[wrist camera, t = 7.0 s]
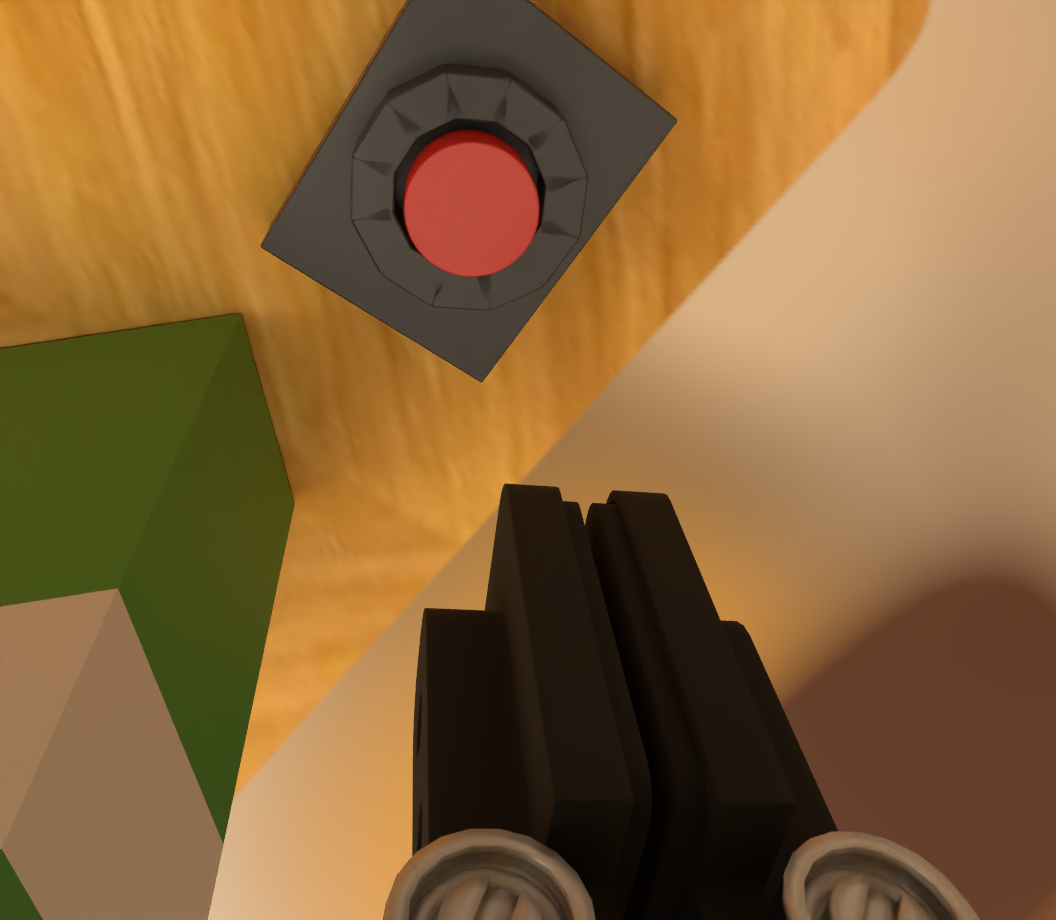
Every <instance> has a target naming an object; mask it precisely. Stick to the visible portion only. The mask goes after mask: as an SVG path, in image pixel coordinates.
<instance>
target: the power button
mask: <svg viewBox="0 0 1056 920" xmlns="http://www.w3.org/2000/svg"><path fill="white" fill-rule="evenodd" d="M539 210H540V207H539V198H538V193H537V189H536V187H535V184H534V181H533V179H532V177H531V175H530V172H529V170H528V168H527V166H526V164H525V162H524V160H523V159H522V157H521V156H520V155H519V153H518V152H517V151H516V150H515V149H514V148H513V147H512V146H511V145H510V144H509V143H507V142H506V141H504V140H503V139H501V138H500V137H498V136H496V135H493V134H491V133H488V132H485V131H480V130H470V129H465V130H456V131H453V132H449V133H446V134H444V135H441V136H439V137H438V138H436V139H434V140H432V141H431V142H430V143H429V144H427V145H426V146H425V147H424V148H423V149H422V150H421V151H420V152H419V154H418V155H417V156H416V158H415V159H414V161H413V163H412V165H411V166H410V169H409V172H408V174H407V178H406V182H405V192H404V218H405V224H406V227H407V231H408V234H409V236H410V238H411V240H412V242H413V244H414V245H415V247H416V248H417V250H418V251H419V252H420V253H421V255H422V256H423V257H424V258H425V259H426V260H427V261H429V262H430V263H431V264H433V265H434V266H436V267H437V268H439V269H441V270H443V271H445V272H448V273H450V274H454V275H458V276H465V277H479V276H486V275H490V274H493V273H496V272H498V271H501V270H503V269H504V268H506V267H508V266H509V265H511V264H512V263H514V262H515V261H516V260H517V259H518V258H519V257H520V256H521V255H522V254H523V253H524V252H525V250H526V249H527V248H528V246H529V245H530V243H531V241H532V239H533V237H534V235H535V232H536V229H537V226H538V221H539Z"/></svg>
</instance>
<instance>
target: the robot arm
mask: <svg viewBox="0 0 1056 920" xmlns="http://www.w3.org/2000/svg"><path fill="white" fill-rule="evenodd" d="M489 577H490V578H489V584H488V591H487V598H486V606H485V611H481V610H458V609H433V608H425V609H424V613H423V619H422V627H421V636H420V646H419V656H418V668H417V679H416V693H415V709H414V732H413V845H412V850H413V851H412V852H413V853H412V854H413V855H412V858H411V859H410V860H409V861H408V862H407V863H406V865H405V866H404V867H403V868H402V869H401V871H400V872H399V873H398V874H397V876H396V879H395V881H394V884H393V886H392V889H391V891H390V894H389V897H388V899H387V902H386V906H385V911H384V916H383V920H980V919H979V918H978V916H977V915H976V913H975V912H974V911H973V909H972V908H971V906H970V905H969V903H968V902H967V901H966V899H965V898H964V897H963V896H962V895H961V894H960V892H958V890H957V889H956V888H955V887H954V886H953V884H952V883H951V882H950V881H949V880H948V879H947V878H946V876H945V875H944V874H942V873H941V872H940V871H938V870H937V869H936V868H935V867H933V866H932V865H931V864H929V863H928V862H927V861H925V860H924V859H923V858H922V857H920V856H919V855H918V854H916V853H913V852H912V851H910V850H908V849H906V848H904V847H902V846H900V845H898V844H896V843H894V842H892V841H890V840H888V839H884V838H880V837H876V836H873V835H869V834H865V833H861V832H838V830H837V828H836V826H835V823H834V821H833V819H832V817H831V815H830V812H829V810H828V808H827V806H826V804H825V801H824V799H823V797H822V794H821V792H820V790H819V788H818V786H817V783H816V781H815V779H814V777H813V774H812V772H811V770H810V768H809V766H808V764H807V761H806V759H805V757H804V755H803V752H802V750H801V748H800V746H799V743H798V741H797V739H796V737H795V735H794V732H793V730H792V728H791V726H790V724H789V721H788V719H787V717H786V715H785V712H784V710H783V708H782V706H781V703H780V701H779V699H778V697H777V695H776V692H775V690H774V688H773V686H772V683H771V681H770V679H769V677H768V675H767V672H766V670H765V668H764V666H763V663H762V661H761V659H760V657H759V655H758V652H757V650H756V648H755V646H754V643H753V641H752V639H751V637H750V635H749V633H748V632H747V630H746V629H745V627H744V626H743V625H742V624H740V623H738V622H737V621H720V618H719V616H718V613H717V611H716V609H715V606H714V604H713V601H712V599H711V597H710V594H709V592H708V590H707V587H706V585H705V582H704V580H703V578H702V575H701V573H700V570H699V568H698V566H697V564H696V561H695V558H694V556H693V554H692V551H691V549H690V546H689V544H688V542H687V539H686V537H685V535H684V532H683V530H682V528H681V525H680V523H679V520H678V518H677V516H676V513H675V511H674V509H673V506H672V504H671V501H670V499H669V498H668V496H667V495H666V494H663V493H647V492H631V491H615V490H613V491H612V492H611V493H610V495H609V497H608V499H607V503H606V504H601V503H592V504H591V506H590V508H589V510H588V514H587V519H586V524H585V525H584V521H583V517H582V514H581V510H580V506H579V504H578V503H577V502H568V501H562V497H561V493H560V490H559V488H558V487H550V486H535V485H519V484H504V486H503V489H502V493H501V498H500V505H499V512H498V519H497V526H496V533H495V541H494V548H493V555H492V562H491V569H490V576H489Z"/></svg>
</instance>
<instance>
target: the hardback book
mask: <svg viewBox="0 0 1056 920" xmlns="http://www.w3.org/2000/svg"><path fill="white" fill-rule="evenodd" d="M293 508H294V500H293V496H292V493H291V489H290V485H289V482H288V478H287V475H286V471H285V468H284V464H283V461H282V457H281V454H280V450H279V447H278V443H277V439H276V436H275V432H274V429H273V425H272V422H271V418H270V415H269V411H268V408H267V404H266V401H265V397H264V393H263V390H262V386H261V383H260V379H259V376H258V372H257V369H256V365H255V362H254V358H253V355H252V351H251V347H250V344H249V340H248V337H247V333H246V330H245V326H244V323H243V319H242V316H241V313H239V314H233V315H226V316H219V317H212V318H206V319H199V320H192V321H185V322H179V323H172V324H165V325H158V326H152V327H145V328H138V329H131V330H125V331H118V332H111V333H104V334H98V335H91V336H84V337H77V338H71V339H64V340H57V341H50V342H44V343H37V344H30V345H23V346H17V347H10V348H3V349H0V920H208V915H209V910H210V905H211V901H212V896H213V891H214V886H215V882H216V877H217V872H218V867H219V862H220V858H221V853H222V848H223V843H224V839H225V834H226V829H227V824H228V819H229V815H230V810H231V805H232V800H233V796H234V791H235V786H236V781H237V776H238V772H239V767H240V762H241V757H242V752H243V748H244V743H245V738H246V733H247V729H248V724H249V719H250V714H251V709H252V705H253V700H254V695H255V690H256V685H257V681H258V676H259V671H260V666H261V661H262V657H263V652H264V647H265V642H266V638H267V633H268V628H269V623H270V618H271V614H272V609H273V604H274V599H275V594H276V590H277V585H278V580H279V575H280V571H281V566H282V561H283V556H284V551H285V547H286V542H287V537H288V532H289V527H290V523H291V518H292V513H293Z"/></svg>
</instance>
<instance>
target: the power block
mask: <svg viewBox="0 0 1056 920" xmlns="http://www.w3.org/2000/svg"><path fill="white" fill-rule="evenodd" d="M676 122H677V119H676V118H675V117H673V116H672V115H671V114H670V113H669V112H667V111H666V110H665V109H664V108H662V107H661V106H660V105H659V104H657V103H656V102H655V101H654V100H652V99H651V98H650V97H649V96H647V95H646V94H645V93H644V92H642V91H641V90H640V89H639V88H637V87H636V86H635V85H634V84H632V83H631V82H630V81H629V80H627V79H626V78H625V77H624V76H622V75H621V74H620V73H619V72H617V71H616V70H615V69H614V68H612V67H611V66H610V65H609V64H607V63H606V62H605V61H604V60H602V59H601V58H600V57H599V56H597V55H596V54H595V53H594V52H592V51H591V50H590V49H589V48H588V47H586V46H585V45H584V44H583V43H581V42H580V41H579V40H578V39H576V38H575V37H574V36H573V35H571V34H570V33H569V32H568V31H566V30H565V29H564V28H563V27H561V26H560V25H559V24H558V23H556V22H555V21H554V20H553V19H551V18H550V17H549V16H548V15H546V14H545V13H544V12H543V11H541V10H540V9H539V8H538V7H536V6H535V5H534V4H533V3H531V2H530V1H529V0H406V2H405V3H404V5H403V7H402V8H401V10H400V12H399V13H398V15H397V17H396V18H395V20H394V22H393V23H392V25H391V27H390V28H389V30H388V32H387V33H386V35H385V36H384V38H383V40H382V41H381V43H380V45H379V46H378V48H377V50H376V51H375V53H374V55H373V56H372V58H371V60H370V61H369V63H368V65H367V66H366V68H365V70H364V71H363V73H362V74H361V76H360V78H359V79H358V81H357V83H356V84H355V86H354V88H353V89H352V91H351V93H350V94H349V96H348V98H347V99H346V101H345V103H344V104H343V106H342V108H341V109H340V111H339V112H338V114H337V116H336V117H335V119H334V121H333V122H332V124H331V126H330V127H329V129H328V131H327V132H326V134H325V136H324V137H323V139H322V141H321V142H320V144H319V146H318V147H317V149H316V150H315V152H314V154H313V155H312V157H311V159H310V160H309V162H308V164H307V165H306V167H305V169H304V170H303V172H302V174H301V175H300V177H299V179H298V180H297V182H296V184H295V185H294V187H293V188H292V190H291V192H290V193H289V195H288V197H287V198H286V200H285V202H284V203H283V205H282V207H281V208H280V210H279V212H278V213H277V215H276V217H275V218H274V220H273V222H272V223H271V225H270V227H269V229H268V231H267V233H266V235H265V237H264V239H263V242H262V244H261V248H263V249H264V250H266V251H268V252H269V253H271V254H272V255H274V256H276V257H277V258H279V259H281V260H282V261H284V262H286V263H287V264H289V265H290V266H292V267H294V268H295V269H297V270H299V271H300V272H302V273H303V274H305V275H307V276H308V277H310V278H312V279H313V280H315V281H317V282H318V283H320V284H321V285H323V286H325V287H326V288H328V289H330V290H331V291H333V292H334V293H336V294H338V295H339V296H341V297H343V298H344V299H346V300H348V301H349V302H351V303H352V304H354V305H356V306H357V307H359V308H361V309H362V310H364V311H365V312H367V313H369V314H370V315H372V316H374V317H375V318H377V319H379V320H380V321H382V322H383V323H385V324H387V325H388V326H390V327H392V328H393V329H395V330H396V331H398V332H400V333H401V334H403V335H405V336H406V337H408V338H409V339H411V340H413V341H414V342H416V343H418V344H419V345H421V346H423V347H424V348H426V349H427V350H429V351H431V352H432V353H434V354H436V355H437V356H439V357H440V358H442V359H444V360H445V361H447V362H449V363H450V364H452V365H454V366H455V367H457V368H458V369H460V370H462V371H463V372H465V373H467V374H468V375H470V376H471V377H473V378H475V379H476V380H478V381H480V382H483V381H484V379H485V378H486V377H487V375H488V374H489V373H490V371H491V370H492V369H493V367H494V366H495V364H496V363H497V362H498V360H499V359H500V358H501V356H502V355H503V354H504V352H505V351H506V350H507V348H508V347H509V346H510V344H511V343H512V342H513V340H514V339H515V338H516V336H517V335H518V334H519V332H520V331H521V330H522V328H523V327H524V326H525V324H526V323H527V322H528V320H529V319H530V318H531V316H532V315H533V314H534V312H535V311H536V310H537V308H538V307H539V306H540V304H541V303H542V302H543V300H544V299H545V298H546V296H547V295H548V294H549V292H550V291H551V290H552V288H553V287H554V286H555V284H556V283H557V282H558V280H559V279H560V278H561V276H562V275H563V274H564V272H565V271H566V270H567V268H568V267H569V266H570V264H571V263H572V262H573V260H574V259H575V258H576V256H577V255H578V253H579V252H580V251H581V249H582V248H583V247H584V245H585V244H586V243H587V241H588V240H589V239H590V237H591V236H592V235H593V233H594V232H595V231H596V229H597V228H598V227H599V225H600V224H601V223H602V221H603V220H604V219H605V217H606V216H607V215H608V213H609V212H610V211H611V209H612V208H613V207H614V205H615V204H616V203H617V201H618V200H619V199H620V197H621V196H622V195H623V193H624V192H625V191H626V189H627V188H628V187H629V185H630V184H631V183H632V181H633V180H634V179H635V177H636V176H637V175H638V173H639V172H640V171H641V169H642V168H643V167H644V165H645V164H646V163H647V161H648V160H649V159H650V157H651V156H652V155H653V153H654V152H655V151H656V149H657V148H658V147H659V145H660V144H661V142H662V141H663V140H664V138H665V137H666V136H667V134H668V133H669V132H670V130H671V129H672V128H673V126H674V125H675V124H676ZM465 129H470V130H480V131H485V132H488V133H491V134H493V135H496V136H498V137H500V138H501V139H503V140H504V141H506V142H507V143H509V144H510V145H511V146H512V147H513V148H514V149H515V150H516V151H517V152H518V153H519V155H520V156H521V157H522V159H523V160H524V162H525V164H526V166H527V168H528V170H529V172H530V175H531V177H532V179H533V181H534V184H535V187H536V189H537V193H538V198H539V207H540V210H539V221H538V226H537V229H536V232H535V235H534V237H533V239H532V241H531V243H530V245H529V246H528V248H527V249H526V250H525V252H524V253H523V254H522V255H521V256H520V257H519V258H518V259H517V260H516V261H515V262H514V263H512V264H511V265H509V266H508V267H506V268H504V269H503V270H501V271H498V272H496V273H493V274H490V275H486V276H479V277H465V276H458V275H454V274H450V273H448V272H445V271H443V270H441V269H439V268H437V267H436V266H434V265H433V264H431V263H430V262H429V261H427V260H426V259H425V258H424V257H423V256H422V255H421V253H420V252H419V251H418V250H417V248H416V247H415V245H414V244H413V242H412V240H411V238H410V236H409V234H408V231H407V227H406V224H405V218H404V192H405V182H406V178H407V174H408V172H409V169H410V166H411V165H412V163H413V161H414V159H415V158H416V156H417V155H418V154H419V152H420V151H421V150H422V149H423V148H424V147H425V146H426V145H427V144H429V143H430V142H431V141H432V140H434V139H436V138H438V137H439V136H441V135H444V134H446V133H449V132H453V131H456V130H465Z"/></svg>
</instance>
